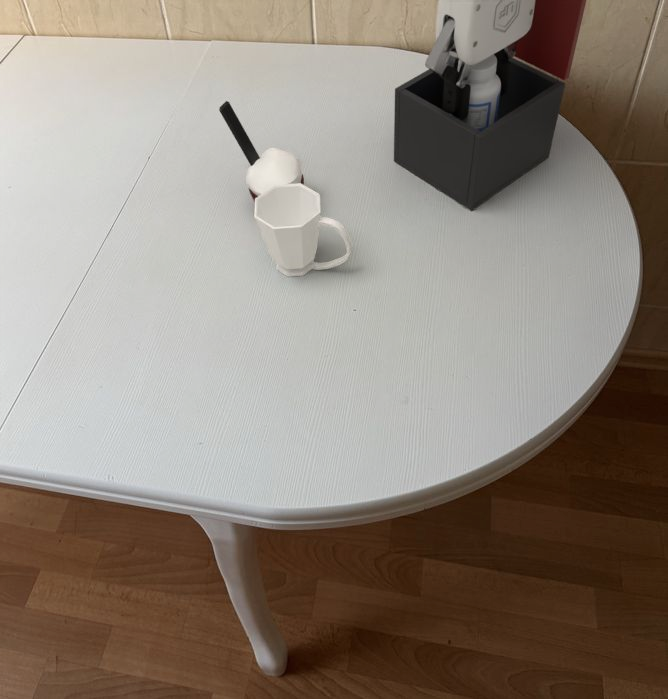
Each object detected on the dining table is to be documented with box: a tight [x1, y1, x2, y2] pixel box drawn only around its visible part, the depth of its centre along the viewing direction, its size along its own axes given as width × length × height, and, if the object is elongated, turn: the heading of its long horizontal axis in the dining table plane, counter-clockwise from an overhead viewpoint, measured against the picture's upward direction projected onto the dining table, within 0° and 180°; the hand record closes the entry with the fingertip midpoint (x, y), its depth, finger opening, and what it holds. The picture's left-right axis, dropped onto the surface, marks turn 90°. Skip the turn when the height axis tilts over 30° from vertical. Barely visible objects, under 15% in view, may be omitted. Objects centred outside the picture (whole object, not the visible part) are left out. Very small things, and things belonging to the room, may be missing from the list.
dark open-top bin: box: [393, 57, 566, 212], centre depth 81 cm, size 14×13×10 cm
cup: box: [253, 183, 353, 278], centre depth 72 cm, size 7×10×8 cm
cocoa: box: [218, 100, 305, 202], centre depth 77 cm, size 10×6×12 cm, turn 38°
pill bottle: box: [449, 54, 501, 132], centre depth 77 cm, size 6×5×10 cm
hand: (474, 100), depth 77 cm, fingers closed on pill bottle, 5 cm apart
